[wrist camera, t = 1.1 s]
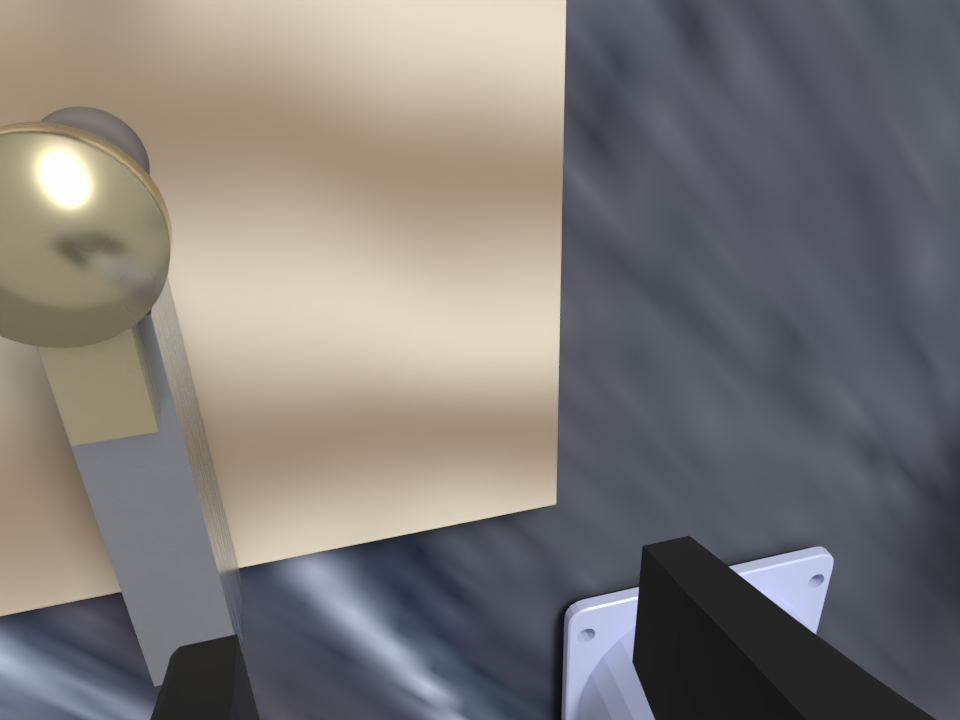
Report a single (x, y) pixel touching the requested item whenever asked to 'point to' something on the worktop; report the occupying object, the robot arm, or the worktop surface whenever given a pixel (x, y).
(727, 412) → the worktop surface
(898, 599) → the worktop surface
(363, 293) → the jamb board
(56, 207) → the lock bar
